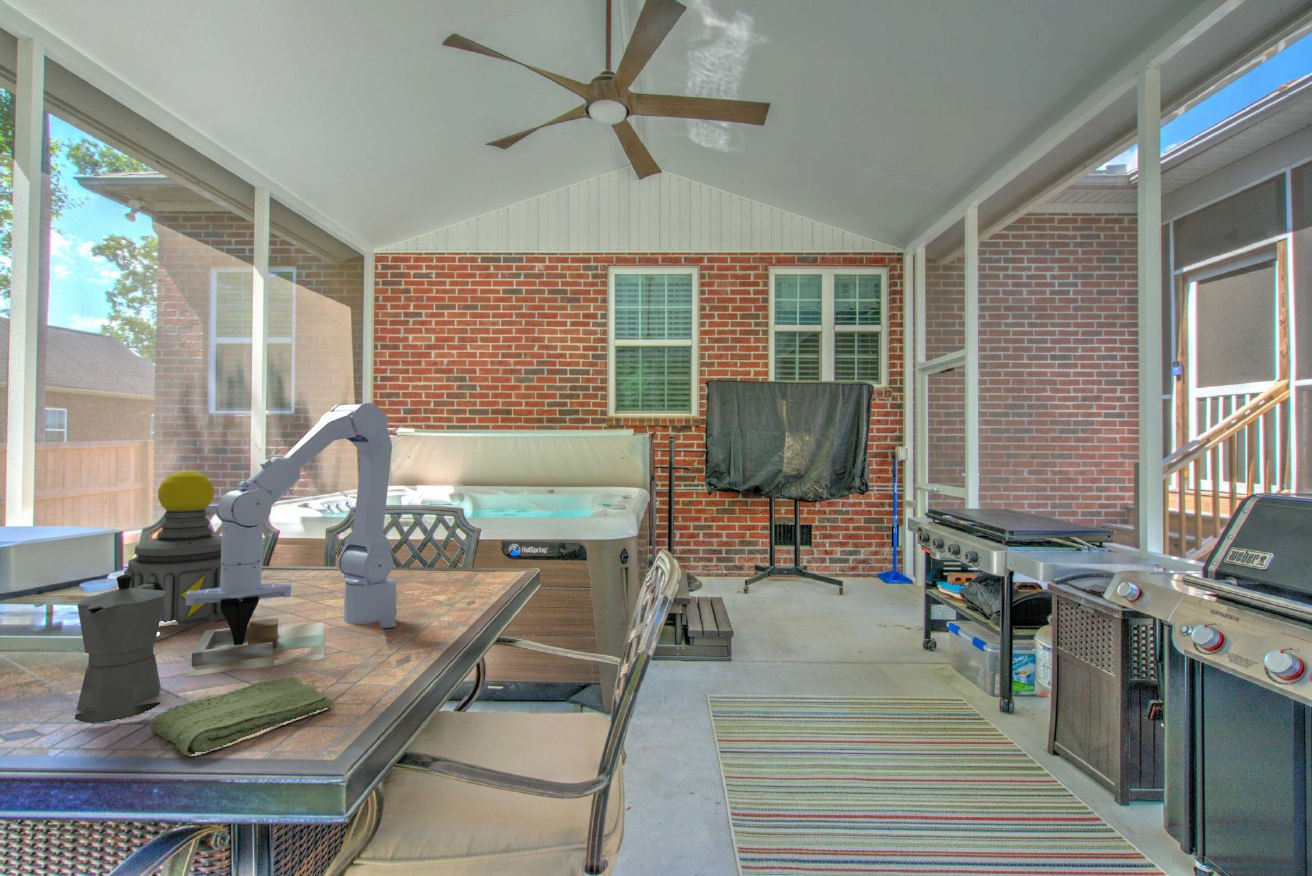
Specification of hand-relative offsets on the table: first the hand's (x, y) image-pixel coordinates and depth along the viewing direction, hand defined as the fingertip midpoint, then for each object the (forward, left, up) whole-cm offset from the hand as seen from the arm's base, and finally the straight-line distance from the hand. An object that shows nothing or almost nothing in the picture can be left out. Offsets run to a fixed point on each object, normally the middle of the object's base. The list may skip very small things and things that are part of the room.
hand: (239, 643), depth 103 cm
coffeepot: (+11, +15, -3) cm, 19 cm away
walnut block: (-3, 0, -1) cm, 4 cm away
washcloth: (-4, +27, -3) cm, 28 cm away
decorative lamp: (+12, -31, -3) cm, 34 cm away
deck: (-4, 0, -2) cm, 4 cm away
